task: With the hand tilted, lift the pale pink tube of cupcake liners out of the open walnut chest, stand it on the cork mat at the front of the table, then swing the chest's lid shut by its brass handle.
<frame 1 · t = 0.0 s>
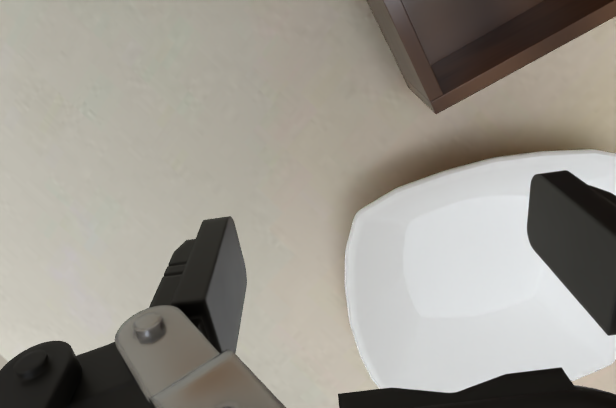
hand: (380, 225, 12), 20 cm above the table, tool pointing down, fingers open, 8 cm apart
bowl: (471, 255, 37), on the table
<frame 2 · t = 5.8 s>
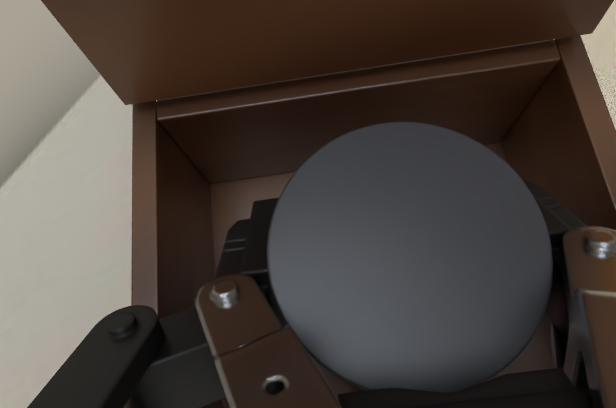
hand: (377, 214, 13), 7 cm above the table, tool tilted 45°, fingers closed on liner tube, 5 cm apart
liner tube: (375, 300, 18), point 1 cm above the table, touching chest, gripper
chest: (374, 301, 19), on the table
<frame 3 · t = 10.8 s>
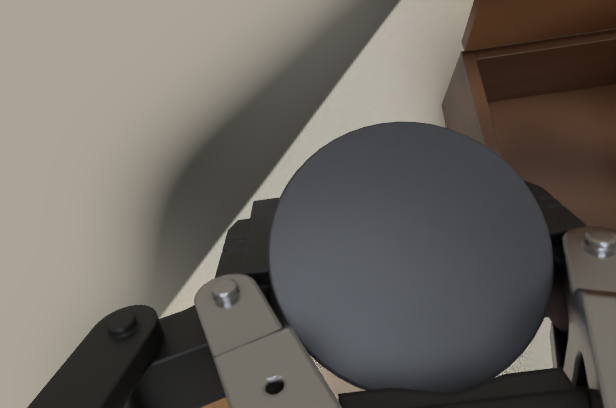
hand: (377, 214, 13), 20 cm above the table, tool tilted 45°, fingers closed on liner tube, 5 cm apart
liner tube: (375, 300, 18), point 14 cm above the table, touching gripper
chest: (559, 170, 33), on the table
when the fingers open (7 cm above the table, at t = 15.6 s): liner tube stays where it is, resting on cork mat.
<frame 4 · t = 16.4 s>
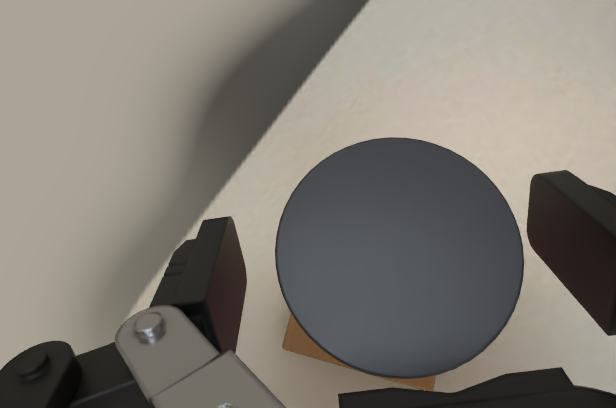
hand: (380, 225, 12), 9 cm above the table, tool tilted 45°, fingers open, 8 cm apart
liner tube: (373, 296, 19), point 1 cm above the table, touching cork mat
cork mat: (371, 295, 20), on the table
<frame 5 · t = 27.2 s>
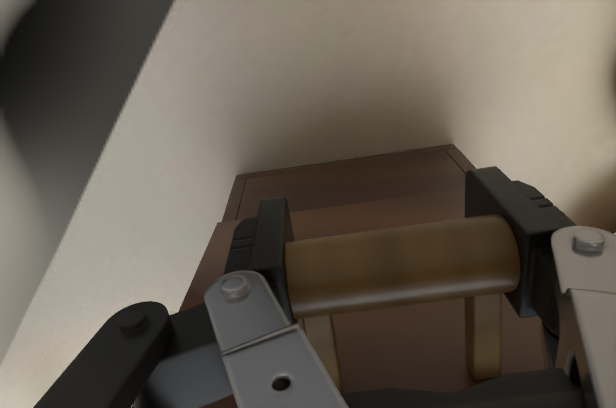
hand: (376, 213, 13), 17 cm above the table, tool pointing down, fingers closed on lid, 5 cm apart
chest: (353, 245, 33), on the table
lid: (371, 233, 16), point 14 cm above the table, hinge at 95.0°, touching gripper
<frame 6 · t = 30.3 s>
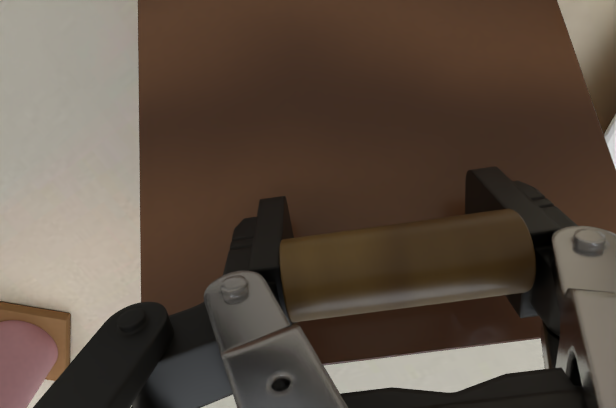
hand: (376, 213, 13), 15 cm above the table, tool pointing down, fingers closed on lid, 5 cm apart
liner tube: (22, 347, 33), point 1 cm above the table, touching cork mat
lid: (360, 94, 13), point 14 cm above the table, hinge at 43.1°, touching gripper
cork mat: (26, 338, 34), on the table
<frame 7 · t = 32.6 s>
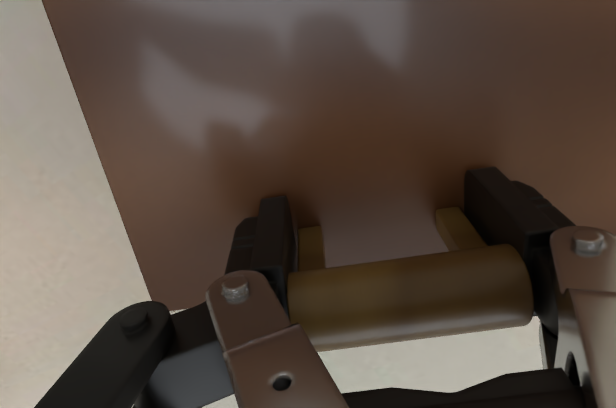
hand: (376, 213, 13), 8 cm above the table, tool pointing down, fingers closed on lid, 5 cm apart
lid: (371, 48, 9), point 10 cm above the table, hinge at 1.1°, touching gripper
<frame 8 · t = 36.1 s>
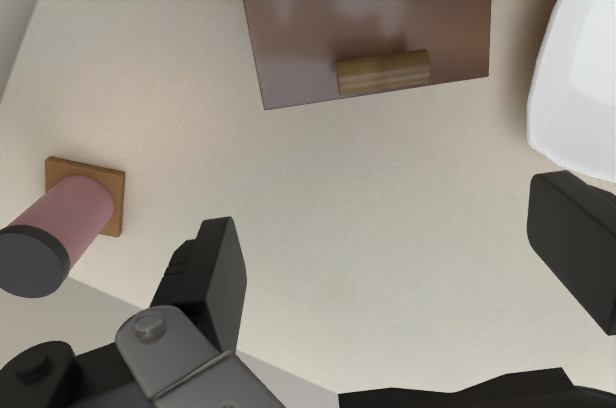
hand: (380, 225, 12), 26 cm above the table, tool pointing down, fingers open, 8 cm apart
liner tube: (84, 201, 40), point 1 cm above the table, touching cork mat
cork mat: (86, 196, 40), on the table
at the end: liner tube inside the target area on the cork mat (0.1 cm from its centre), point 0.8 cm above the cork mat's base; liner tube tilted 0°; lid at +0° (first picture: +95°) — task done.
